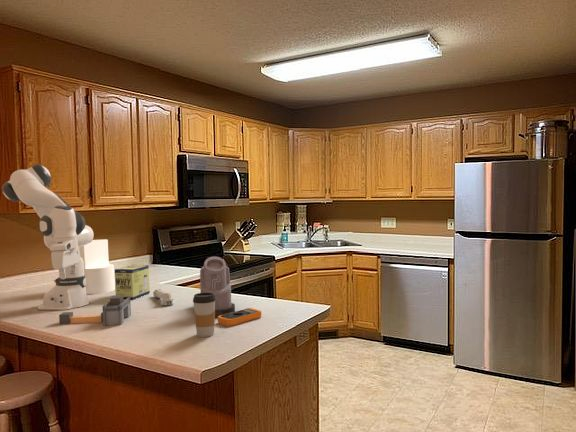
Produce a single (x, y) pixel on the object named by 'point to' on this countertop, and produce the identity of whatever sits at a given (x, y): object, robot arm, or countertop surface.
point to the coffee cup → (204, 313)
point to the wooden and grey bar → (79, 318)
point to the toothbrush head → (163, 297)
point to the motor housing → (116, 310)
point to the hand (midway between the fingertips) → (68, 276)
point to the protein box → (132, 281)
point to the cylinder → (97, 267)
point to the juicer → (217, 284)
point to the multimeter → (239, 317)
